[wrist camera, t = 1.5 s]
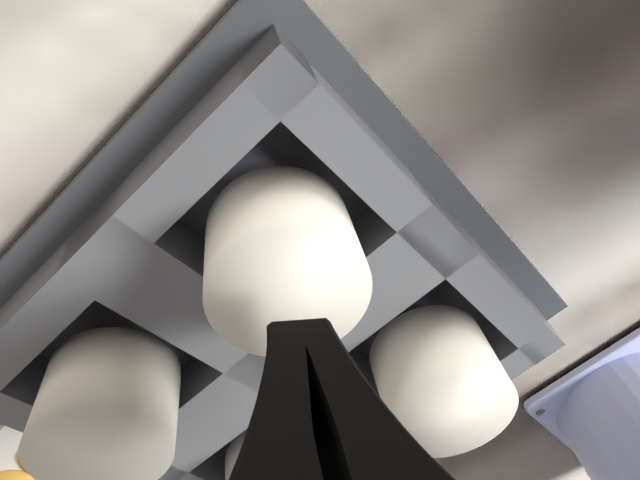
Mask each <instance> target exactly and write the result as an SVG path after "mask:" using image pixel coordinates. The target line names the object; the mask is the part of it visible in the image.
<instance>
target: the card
mask: <svg viewBox="0 0 640 480" xmlns="http://www.w3.org/2000/svg"><path fill="white" fill-rule="evenodd" d="M22 435H23V433H22V432H20V431H17V430H15V429H12V428H10V427H7V426H5V425H2V424H1V425H0V480H36V479H34V478H33V477H32V476H31V475H30V474H28V472H27V471H26V470H25V469H24V467H23V465H22V464H21V462H20V458H19V452H18V449H19V443H20V441H21V438H22Z"/></svg>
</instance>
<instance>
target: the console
mask: <svg viewBox="0 0 640 480" xmlns="http://www.w3.org/2000/svg"><path fill="white" fill-rule="evenodd" d="M269 166H292V167H298V168H302V169H305V170H308V171H311V172H313V173H315V174H317V175H319V176H321V177H322V178H324V179H325V180H326V181H328V182H329V183H330V184H331V185H332V186H333V187H334V188H335V189H336V190H337V192H338V193H339V194H340V196H341V197H342V199H343V202H344V204H345V206H346V209H347V211H348V214H349V216H350V219H351V221H352V224H353V226H354V229H355V232H356V234H357V237H358V239H359V242H360V244H361V247H362V249H363V252H364V255H365V257H366V260H367V262H368V265H369V268H370V271H371V275H372V283H373V284H372V295H371V299H370V302H369V305H368V308H367V310H366V312H365V313H364V315H363V317H362V318H361V320H360V321H359V322H358V324H357V325H356V326H355V327H354V328H353V329H352V330H351V331H350V332H349V333H348V334H346V335H345V336H344V337H343V338H341V339H340V340H341V342H342V343H343V345H344V346H345V348H346V350H347V351H348V353H349V354H350V356H351V357H352V359H353V360H354V362H355V363H356V365H357V366H358V368H359V369H360V371H361V372H362V374H363V375H364V376H365V378H366V379H367V380H368V382H369V383H370V385H371V386H372V387H373V389H374V390H375V391H376V393H377V394H378V395H379V392H378V389H377V386H376V382H375V379H374V376H373V373H372V370H371V366H370V363H369V352H370V348H371V345H372V343H373V341H374V339H375V337H376V336H377V334H378V333H379V332H380V331H381V330H382V328H383V327H384V326H385V325H387V324H388V323H389V322H390V321H392V320H393V319H395V318H396V317H398V316H399V315H401V314H403V313H405V312H408V311H410V310H412V309H416V308H419V307H423V306H428V305H450V306H454V307H458V308H460V309H463V310H464V311H466V312H468V313H469V314H470V315H472V317H473V318H474V319H475V320H476V322H477V324H478V325H479V327H480V329H481V330H482V332H483V334H484V335H485V337H486V339H487V341H488V342H489V344H490V346H491V347H492V349H493V351H494V352H495V354H496V356H497V358H498V359H499V361H500V363H501V364H502V366H503V368H504V369H505V371H506V373H507V375H508V376H509V378H510V380H513V379H514V378H516V377H517V376H519V375H520V374H522V373H523V372H525V371H526V370H528V369H529V368H531V367H532V366H534V365H535V364H537V363H538V362H540V361H541V360H543V359H544V358H546V357H547V356H549V355H551V354H552V353H554V352H555V351H557V350H558V349H560V348H561V347H563V346H564V345H565V344H564V343H563V341H562V340H561V339H560V337H559V336H558V335H557V333H556V332H555V331H554V329H553V328H552V327H551V325H550V324H549V323H548V321H547V320H548V319H550V318H551V317H553V316H554V315H555V314H557V313H558V312H560V311H561V310H563V309H564V308H566V307H567V305H566V303H565V302H564V301H563V300H562V299H561V297H560V296H559V295H558V294H557V293H556V291H555V290H554V289H553V288H552V287H551V286H550V285H549V283H548V282H547V281H546V280H545V279H544V278H543V276H542V275H541V274H540V273H539V272H538V271H537V270H536V268H535V267H534V266H533V265H532V264H531V263H530V261H529V260H528V259H527V258H526V257H525V256H524V255H523V253H522V252H521V251H520V250H519V249H518V248H517V246H516V245H515V244H514V243H513V242H512V241H511V240H510V238H509V237H508V236H507V235H506V234H505V233H504V231H503V230H502V229H501V228H500V227H499V226H498V225H497V223H496V222H495V221H494V220H493V219H492V218H491V216H490V215H489V214H488V213H487V212H486V211H485V210H484V208H483V207H482V206H481V205H480V204H479V203H478V201H477V200H476V199H475V198H474V197H473V196H472V195H471V193H470V192H469V191H468V190H467V189H466V188H465V187H464V185H463V184H462V183H461V182H460V181H459V180H458V178H457V177H456V176H455V175H454V174H453V173H452V172H451V170H450V169H449V168H448V167H447V166H446V165H445V163H444V162H443V161H442V160H441V159H440V158H439V157H438V155H437V154H436V153H435V152H434V151H433V150H432V148H431V147H430V146H429V145H428V144H427V143H426V142H425V140H424V139H423V138H422V137H421V136H420V135H419V133H418V132H417V131H416V130H415V129H414V128H413V127H412V125H411V124H410V123H409V122H408V121H407V120H406V118H405V117H404V116H403V115H402V114H401V113H400V112H399V110H398V109H397V108H396V107H395V106H394V105H393V103H392V102H391V101H390V100H389V99H388V98H387V97H386V95H385V94H384V93H383V92H382V91H381V90H380V88H379V87H378V86H377V85H376V84H375V83H374V82H373V80H372V79H371V78H370V77H369V76H368V75H367V73H366V72H365V71H364V70H363V69H362V68H361V67H360V65H359V64H358V63H357V62H356V61H355V60H354V58H353V57H352V56H351V55H350V54H349V53H348V52H347V50H346V49H345V48H344V47H343V46H342V45H341V44H340V42H339V41H338V40H337V39H336V38H335V37H334V35H333V34H332V33H331V32H330V31H329V30H328V29H327V27H326V26H325V25H324V24H323V23H322V22H321V20H320V19H319V18H318V17H317V16H316V15H315V14H314V12H313V11H312V10H311V9H310V8H309V7H308V5H307V4H306V3H305V2H304V1H303V0H237V1H236V2H235V3H234V4H233V5H232V7H231V8H230V9H229V10H228V11H227V12H226V13H225V14H224V15H223V16H222V17H221V19H220V20H219V21H218V22H217V23H216V24H215V25H214V26H213V27H212V28H211V29H210V30H209V32H208V33H207V34H206V35H205V36H204V37H203V38H202V39H201V40H200V41H199V42H198V44H197V45H196V46H195V47H194V48H193V49H192V50H191V51H190V52H189V53H188V54H187V56H186V57H185V58H184V59H183V60H182V61H181V62H180V63H179V64H178V65H177V66H176V68H175V69H174V70H173V71H172V72H171V73H170V74H169V75H168V76H167V77H166V78H165V80H164V81H163V82H162V83H161V84H160V85H159V86H158V87H157V88H156V89H155V90H154V92H153V93H152V94H151V95H150V96H149V97H148V98H147V99H146V100H145V101H144V102H143V103H142V105H141V106H140V107H139V108H138V109H137V110H136V111H135V112H134V113H133V114H132V115H131V117H130V118H129V119H128V120H127V121H126V122H125V123H124V124H123V125H122V126H121V127H120V129H119V130H118V131H117V132H116V133H115V134H114V135H113V136H112V137H111V138H110V139H109V141H108V142H107V143H106V144H105V145H104V146H103V147H102V148H101V149H100V150H99V151H98V153H97V154H96V155H95V156H94V157H93V158H92V159H91V160H90V161H89V162H88V163H87V165H86V166H85V167H84V168H83V169H82V170H81V171H80V172H79V173H78V174H77V175H76V176H75V178H74V179H73V180H72V181H71V182H70V183H69V184H68V185H67V186H66V187H65V188H64V190H63V191H62V192H61V193H60V194H59V195H58V196H57V197H56V198H55V199H54V200H53V202H52V203H51V204H50V205H49V206H48V207H47V208H46V209H45V210H44V211H43V212H42V214H41V215H40V216H39V217H38V218H37V219H36V220H35V221H34V222H33V223H32V224H31V226H30V227H29V228H28V229H27V230H26V231H25V232H24V233H23V234H22V235H21V236H20V238H19V239H18V240H17V241H16V242H15V243H14V244H13V245H12V246H11V247H10V248H9V249H8V251H7V252H6V253H5V254H4V255H3V256H2V257H1V258H0V424H2V425H5V426H7V427H10V428H12V429H15V430H17V431H20V432H22V433H23V432H24V430H25V427H26V424H27V421H28V419H29V416H30V413H31V410H32V408H33V405H34V402H35V399H36V397H37V394H38V391H39V388H40V386H41V383H42V380H43V377H44V375H45V372H46V369H47V366H48V364H49V361H50V358H51V356H52V354H53V352H54V351H55V350H56V348H57V347H58V346H59V345H60V344H61V343H63V342H64V341H65V340H67V339H68V338H70V337H71V336H73V335H76V334H78V333H80V332H83V331H86V330H90V329H95V328H102V327H124V328H130V329H135V330H139V331H142V332H145V333H148V334H150V335H152V336H154V337H156V338H158V339H160V340H161V341H163V342H164V343H165V344H166V345H168V346H169V347H170V348H171V349H172V350H173V352H174V353H175V354H176V356H177V358H178V360H179V362H180V366H181V384H180V397H179V409H178V421H177V433H176V445H175V455H174V459H173V462H172V464H171V466H170V467H169V469H168V470H167V471H166V473H165V474H164V475H162V476H161V477H160V478H159V479H158V480H225V454H226V451H227V449H228V447H229V445H230V444H231V443H232V441H233V440H234V439H235V438H237V437H238V436H239V435H240V434H242V433H243V432H245V431H247V429H248V425H249V422H250V419H251V416H252V413H253V409H254V406H255V403H256V399H257V395H258V391H259V387H260V382H261V378H262V374H263V369H264V363H265V357H264V356H258V355H254V354H250V353H247V352H245V351H242V350H240V349H238V348H236V347H234V346H232V345H230V344H229V343H228V342H226V341H225V340H223V339H222V338H221V337H220V336H219V335H218V334H217V333H216V332H215V330H214V329H213V328H212V327H211V325H210V323H209V321H208V320H207V317H206V315H205V312H204V307H203V295H202V293H203V271H204V250H205V228H206V220H207V215H208V212H209V209H210V207H211V205H212V203H213V201H214V200H215V198H216V197H217V195H218V194H219V193H220V192H221V191H222V190H223V189H224V188H225V187H226V186H227V185H228V184H229V183H230V182H232V181H233V180H235V179H236V178H238V177H239V176H241V175H243V174H245V173H248V172H250V171H253V170H256V169H259V168H264V167H269ZM379 397H380V395H379Z"/></svg>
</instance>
